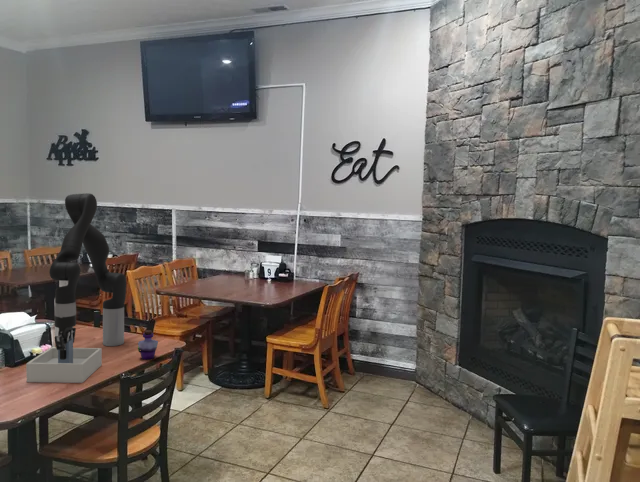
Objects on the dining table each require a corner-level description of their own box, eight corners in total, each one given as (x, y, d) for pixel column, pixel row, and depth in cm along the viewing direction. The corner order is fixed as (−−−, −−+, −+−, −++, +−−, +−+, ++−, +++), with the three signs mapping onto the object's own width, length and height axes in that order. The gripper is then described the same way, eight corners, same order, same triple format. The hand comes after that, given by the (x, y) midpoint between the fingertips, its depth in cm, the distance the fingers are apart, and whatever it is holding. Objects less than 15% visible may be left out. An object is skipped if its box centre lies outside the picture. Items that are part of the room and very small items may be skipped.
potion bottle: (135, 356, 225) (135, 329, 224) (155, 353, 229) (155, 327, 228) (140, 362, 218) (140, 334, 216) (160, 359, 222) (161, 331, 221)
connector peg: (62, 363, 203) (62, 338, 203) (73, 363, 204) (73, 338, 203) (58, 367, 199) (58, 341, 199) (68, 367, 200) (68, 341, 199)
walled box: (51, 364, 211) (51, 347, 211) (101, 364, 212) (101, 348, 212) (26, 382, 191) (26, 363, 191) (82, 382, 193) (82, 364, 192)
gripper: (63, 309, 207) (63, 351, 208) (46, 317, 192) (47, 363, 194) (82, 310, 207) (82, 352, 209) (67, 318, 193) (67, 363, 194)
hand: (65, 357), depth 201 cm, fingers closed on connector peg, 4 cm apart
